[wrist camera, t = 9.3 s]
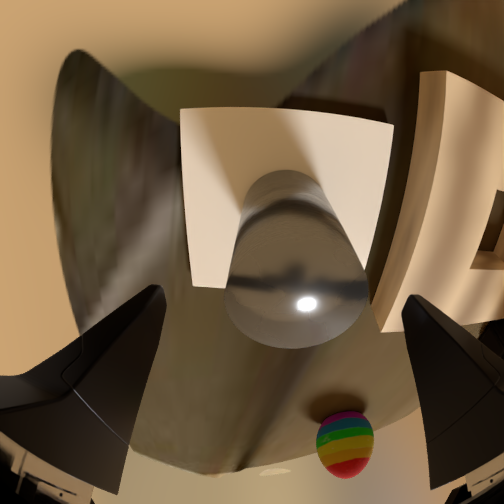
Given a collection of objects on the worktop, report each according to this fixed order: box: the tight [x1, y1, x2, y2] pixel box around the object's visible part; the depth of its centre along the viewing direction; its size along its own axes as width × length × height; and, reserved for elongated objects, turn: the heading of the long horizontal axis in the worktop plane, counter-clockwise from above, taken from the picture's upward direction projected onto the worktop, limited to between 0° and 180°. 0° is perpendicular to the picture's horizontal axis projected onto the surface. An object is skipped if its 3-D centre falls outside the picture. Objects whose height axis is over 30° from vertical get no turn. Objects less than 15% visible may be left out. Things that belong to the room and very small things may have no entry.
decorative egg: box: [316, 411, 374, 479], centre depth 28 cm, size 8×8×10 cm
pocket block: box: [371, 71, 504, 332], centre depth 14 cm, size 18×18×3 cm
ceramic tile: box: [180, 107, 394, 288], centre depth 16 cm, size 12×12×1 cm
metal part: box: [224, 170, 368, 348], centre depth 13 cm, size 5×5×8 cm
